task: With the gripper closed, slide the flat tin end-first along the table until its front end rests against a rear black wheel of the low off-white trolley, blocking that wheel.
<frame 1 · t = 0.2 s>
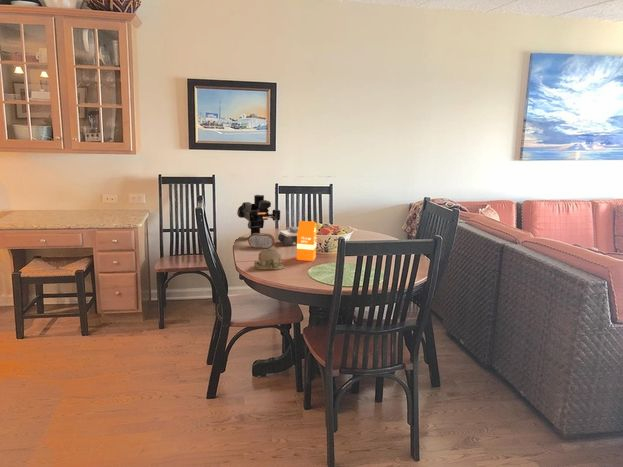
hand: (269, 218, 263), 17 cm above the table, tool horizontal, fingers open, 9 cm apart
tin: (261, 248, 265), on the table
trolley: (290, 243, 278), on the table
orange juice: (306, 258, 246), on the table
ceramic model: (269, 267, 229), on the table
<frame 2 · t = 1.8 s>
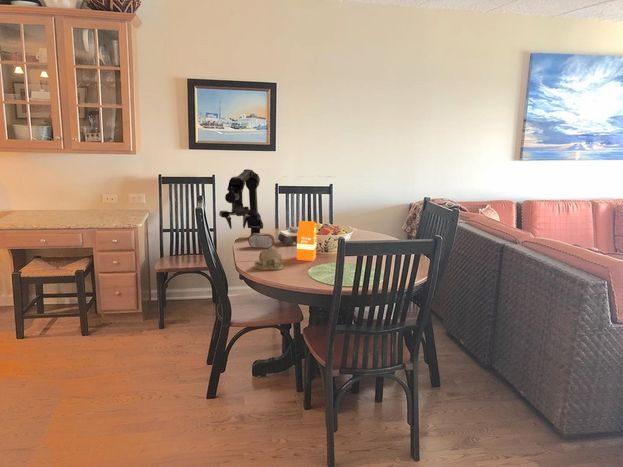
hand: (237, 228, 256), 12 cm above the table, tool pointing down, fingers open, 7 cm apart
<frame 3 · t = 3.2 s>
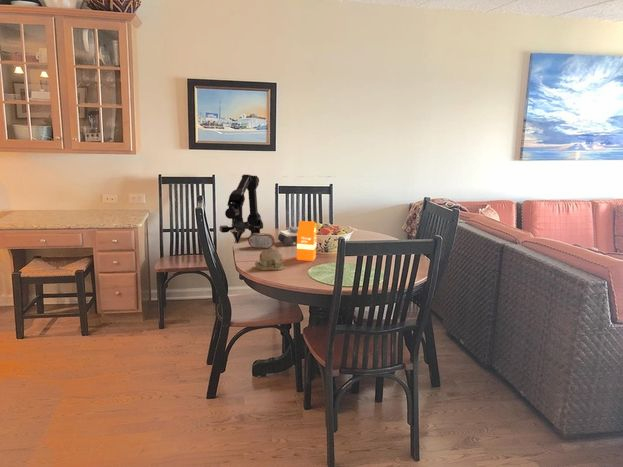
hand: (237, 243, 258), 4 cm above the table, tool pointing down, fingers closed
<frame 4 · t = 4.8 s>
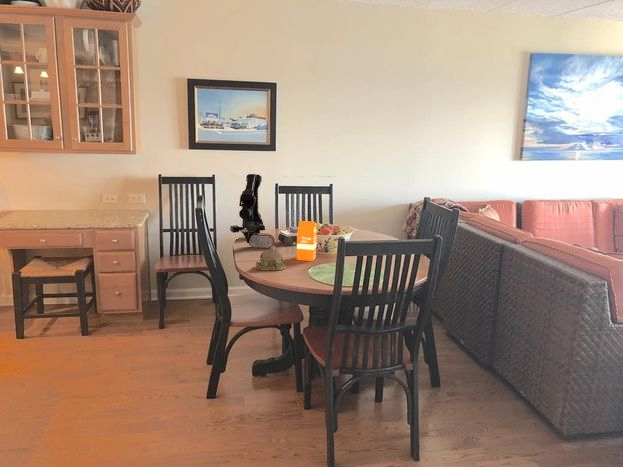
hand: (247, 243, 261), 3 cm above the table, tool pointing down, fingers closed
tin: (261, 248, 265), on the table, touching gripper
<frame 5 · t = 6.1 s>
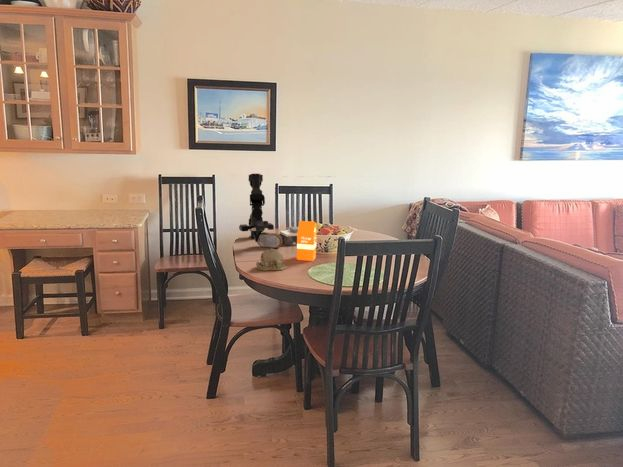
hand: (256, 242, 263), 4 cm above the table, tool pointing down, fingers closed
tin: (269, 247, 266), on the table, touching gripper
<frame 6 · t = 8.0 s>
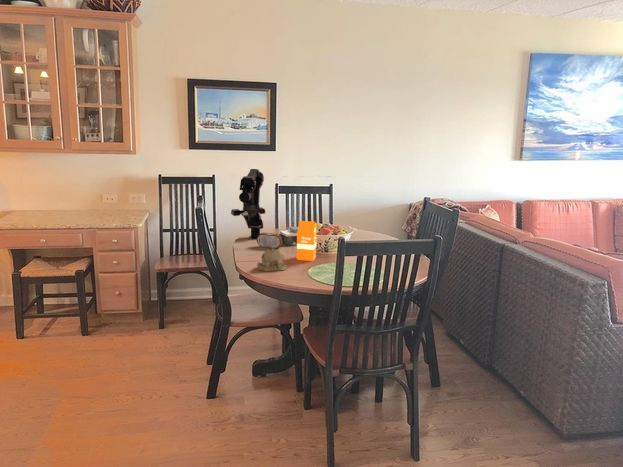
hand: (248, 226, 267), 11 cm above the table, tool pointing down, fingers closed
tin: (269, 248, 266), on the table
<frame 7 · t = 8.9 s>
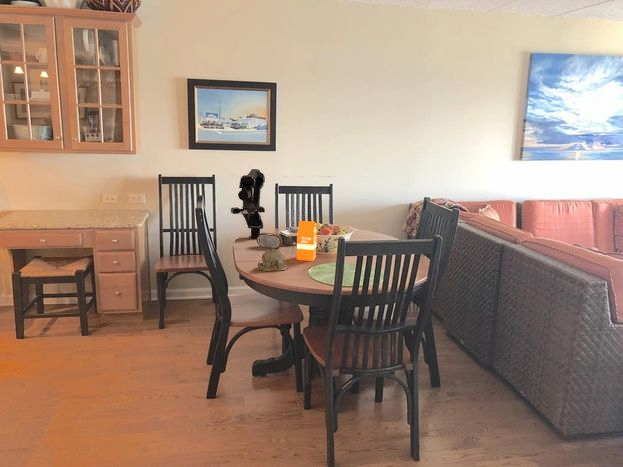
hand: (247, 224, 268), 12 cm above the table, tool pointing down, fingers closed
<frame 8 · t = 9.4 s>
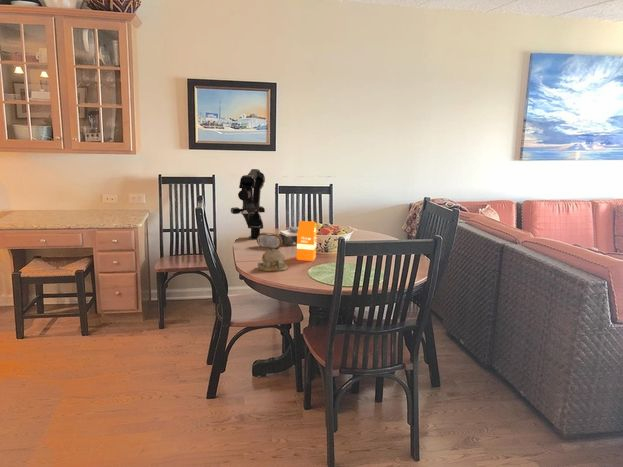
hand: (247, 224, 268), 12 cm above the table, tool pointing down, fingers closed
at the end: tin 1.3 cm from the target spot, on the table; tin tilted 0°; tin moved 4.6 cm from its start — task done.
